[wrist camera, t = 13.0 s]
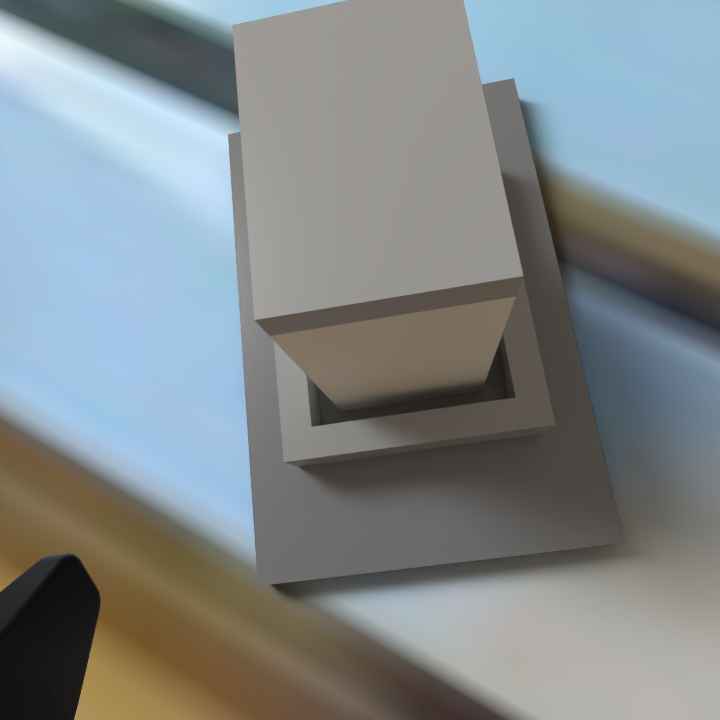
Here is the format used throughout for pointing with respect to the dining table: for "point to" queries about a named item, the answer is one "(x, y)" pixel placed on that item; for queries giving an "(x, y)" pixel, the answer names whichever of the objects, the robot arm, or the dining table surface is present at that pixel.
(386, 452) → the socket board
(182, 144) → the dining table surface
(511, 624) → the dining table surface
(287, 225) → the plug
